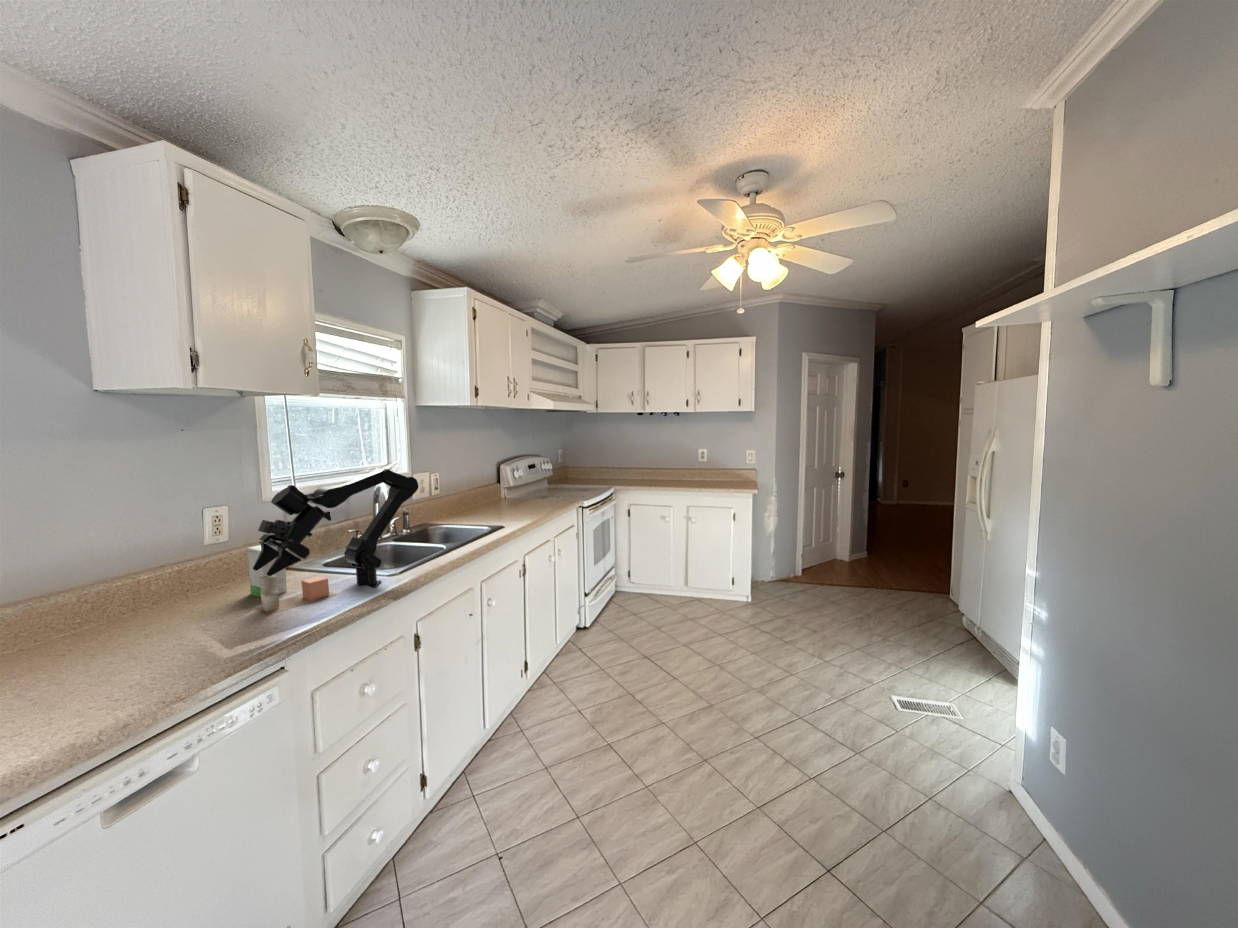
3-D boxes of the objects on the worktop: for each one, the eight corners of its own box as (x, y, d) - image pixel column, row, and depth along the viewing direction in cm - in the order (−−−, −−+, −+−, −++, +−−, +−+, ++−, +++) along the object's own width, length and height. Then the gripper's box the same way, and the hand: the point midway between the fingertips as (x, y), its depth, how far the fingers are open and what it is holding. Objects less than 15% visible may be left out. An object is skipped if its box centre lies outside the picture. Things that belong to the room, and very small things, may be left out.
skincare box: (250, 598, 146) (245, 547, 145) (274, 591, 152) (270, 542, 151) (265, 602, 142) (260, 550, 141) (289, 595, 148) (285, 545, 147)
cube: (321, 591, 146) (319, 575, 146) (329, 594, 143) (327, 578, 143) (302, 597, 142) (301, 580, 142) (310, 600, 139) (309, 583, 139)
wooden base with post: (323, 593, 149) (321, 560, 148) (338, 598, 144) (335, 564, 143) (253, 612, 134) (250, 576, 133) (267, 619, 129) (264, 581, 128)
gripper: (265, 505, 140) (220, 552, 132) (293, 510, 129) (247, 561, 121) (297, 527, 147) (257, 572, 139) (327, 534, 136) (285, 583, 128)
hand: (261, 572), depth 131 cm, fingers open, 9 cm apart
